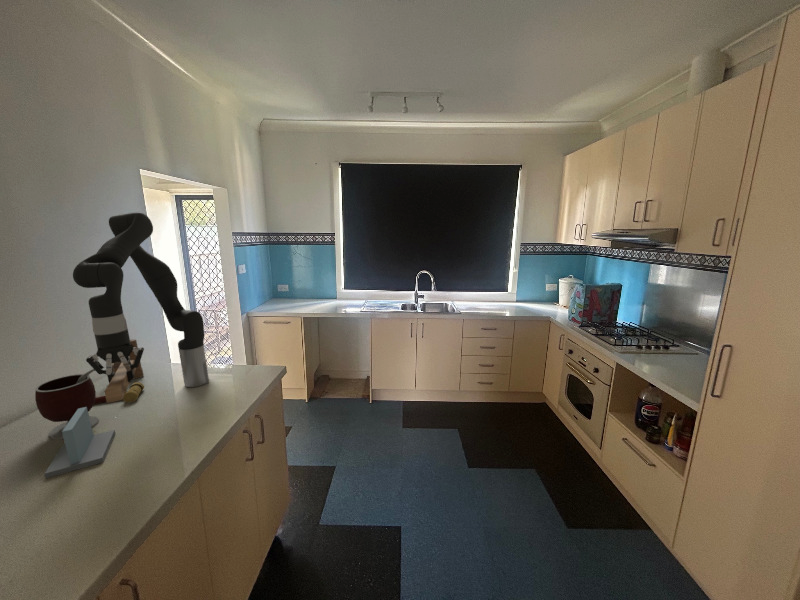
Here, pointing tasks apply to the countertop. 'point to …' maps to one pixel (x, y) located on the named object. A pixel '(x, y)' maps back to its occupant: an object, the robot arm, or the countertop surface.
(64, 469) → the stand
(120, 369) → the light wood bar
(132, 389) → the gavel
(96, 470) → the countertop surface
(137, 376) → the wooden block
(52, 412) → the mate gourd
